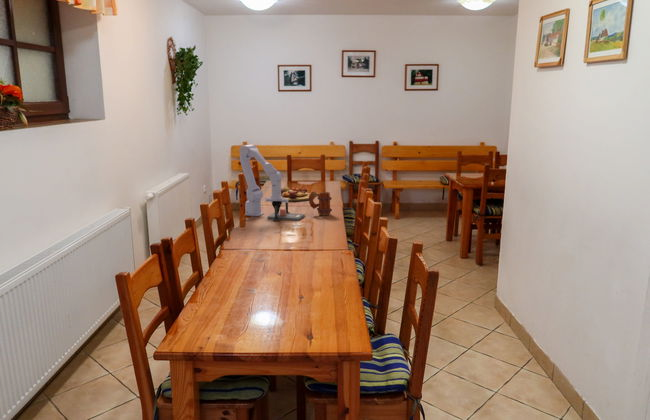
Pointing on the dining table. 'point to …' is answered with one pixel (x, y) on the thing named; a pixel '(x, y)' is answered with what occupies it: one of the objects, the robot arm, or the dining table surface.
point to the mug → (321, 202)
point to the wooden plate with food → (295, 194)
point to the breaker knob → (283, 212)
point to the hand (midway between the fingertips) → (277, 213)
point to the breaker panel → (287, 216)
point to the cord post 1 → (276, 215)
